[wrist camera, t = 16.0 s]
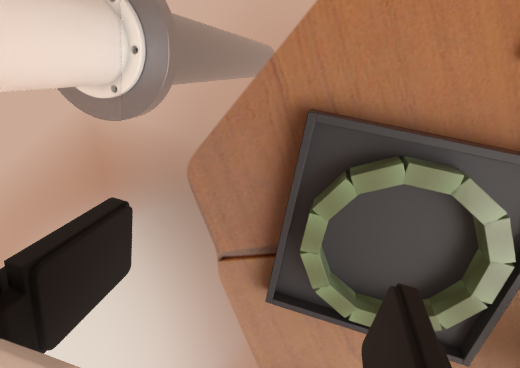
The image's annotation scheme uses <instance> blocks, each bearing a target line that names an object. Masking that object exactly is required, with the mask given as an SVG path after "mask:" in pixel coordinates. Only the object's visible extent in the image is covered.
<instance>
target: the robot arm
mask: <svg viewBox="0 0 520 368" xmlns="http://www.w3.org/2000/svg"><path fill="white" fill-rule="evenodd" d="M145 51H146V47H145V38H144V33H143V29H142V26H141V23H140V21H139V18H138V16H137V14H136V12H135V10H134V9H133V7H132V5H131V4H130V3H129V1H128V0H0V92H8V91H22V90H36V89H37V90H38V89H52V88H67V87H76V88H77V89H78V90H80V91H82V92H83V93H85V94H87V95H90V96H93V97H96V98H113V97H117V96H121V95H122V94H124V93H126V92H128V91H129V90H130V89H131V88H132V87H133V86H134V85H135V84H136V82H137V81H138V79H139V77H140V75H141V73H142V71H143V67H144V62H145ZM131 248H132V208H131V207H129V203H128V202H127V201H123V200H120V199H116V198H109V199H108V200H106V201H104V202H103V203H101V204H99V205H98V206H96V207H94V208H92V209H91V210H89V211H88V212H86V213H84V214H82V215H81V216H79V217H77V218H76V219H74V220H72V221H71V222H69V223H67V224H66V225H64V226H62V227H61V228H59V229H57V230H56V231H54V232H52V233H51V234H49V235H47V236H45V237H44V238H42V239H40V240H39V241H37V242H35V243H34V244H32V245H30V246H29V247H27V248H25V249H23V250H22V251H20V252H19V253H17V254H15V255H13V256H12V257H10V258H8V259H7V260H5V261H4V263H5V266H4V267H3V268H1V269H0V368H79V367H77V366H74V365H71V364H69V363H66V362H64V361H61V360H58V359H56V358H53V357H50V356H48V355H45V354H44V353H45V352H46V351H47V350H52V349H53V348H55V347H56V346H57V345H58V344H59V343H60V342H61V341H62V340H63V339H64V338H65V336H67V335H68V334H69V333H70V332H71V331H72V330H73V329H74V327H76V326H77V325H78V323H79V322H80V321H81V320H82V319H83V318H84V317H85V316H86V315H87V314H88V313H89V312H90V311H91V310H92V309H93V308H94V307H95V306H96V305H97V304H98V303H99V302H100V301H101V300H102V299H103V298H104V297H105V296H106V295H107V294H108V293H109V292H110V291H111V290H112V289H113V288H114V287H115V286H116V285H117V284H118V283H119V282H120V281H121V280H122V279H123V278H124V277H125V276H126V275H127V273H128V272H129V270H130V267H131ZM362 361H363V368H452V367H451V365H450V362H449V360H448V357H447V355H446V352H445V350H444V347H443V345H442V343H441V342H440V341H439V340H438V339H437V336H436V334H435V331H434V328H433V326H432V323H431V321H430V318H429V316H428V313H427V310H426V308H425V305H424V303H423V300H422V297H421V295H420V292H419V290H418V289H417V288H414V287H410V286H407V285H404V284H400V283H398V284H397V285H396V286H390V288H389V289H388V291H387V293H386V295H385V298H384V300H383V302H382V304H381V306H380V308H379V310H378V312H377V314H376V316H375V318H374V320H373V323H372V325H371V327H370V329H369V331H368V333H367V335H366V337H365V339H364V341H363V345H362Z"/></svg>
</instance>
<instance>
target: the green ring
mask: <svg viewBox="0 0 520 368" xmlns="http://www.w3.org/2000/svg"><path fill="white" fill-rule="evenodd" d="M402 184H406V185H411V186H415V187H419V188H423V189H428V190H432V191H436V192H441V193H445V194H449V195H452V196H453V197H454V198H455V199H456V200H457V201H458V202H459V203H461V204H462V205H463V206H464V207H465V208H466V209H467V210H468V211H469V212H470V213H471V214H472V215H473V219H474V225H475V231H476V236H477V242H478V250H477V252H476V254H475V255H474V257H473V259H472V261H471V263H470V265H469V266H468V268H467V270H466V272H465V274H464V276H463V277H462V279H461V280H460V281H458V282H456V283H455V284H453V285H451V286H450V287H448V288H446V289H444V290H443V291H441V292H439V293H438V294H436V295H434V296H433V297H431V298H429V299H422V300H423V303H424V305H425V308H426V310H427V313H428V316H429V318H430V321H431V323H432V326H433V328H434V331H441V330H442V329H441V325H442V326H444V327H445V328H446V329H448V328H450V327H452V326H454V325H456V324H458V323H459V322H461V321H463V320H465V319H467V318H469V317H471V316H473V315H475V314H477V313H479V312H480V311H482V310H484V309H486V308H488V307H487V305H486V304H485V303H488V304H492V303H493V301H494V300H495V298H496V297H497V295H498V293H499V292H500V290H501V288H502V287H503V285H504V284H505V282H506V280H507V279H508V277H509V276H510V274H511V272H512V271H513V269H514V268H515V266H514V265H513V264H512V263H513V262H516V258H515V251H514V244H513V236H512V229H511V222H510V218H509V217H508V216H507V215H506V214H507V212H506V211H505V210H504V209H503V208H502V207H501V206H500V205H498V204H497V203H496V202H495V201H494V200H493V199H492V198H491V197H490V196H489V195H488V194H487V193H486V192H485V191H484V190H482V189H481V188H480V187H479V186H478V185H477V184H476V183H475V182H474V181H473V180H472V179H471V178H470V177H468V176H467V175H466V174H465V173H464V172H462V171H461V170H460V169H456V168H455V167H454V166H450V165H446V164H441V163H436V162H432V161H427V160H423V159H418V158H414V157H409V156H403V158H402V160H400V158H399V157H398V156H394V157H390V158H386V159H382V160H379V161H375V162H371V163H367V164H363V165H359V166H355V167H352V168H350V174H349V173H348V172H347V171H344V172H343V173H342V174H341V175H340V176H338V177H337V178H336V179H335V180H334V181H333V182H332V183H331V184H330V185H329V186H328V187H327V188H325V189H324V190H323V191H322V192H321V193H320V194H319V195H318V196H317V197H316V198H315V199H314V202H313V203H311V207H310V211H309V215H308V218H307V222H306V226H305V230H304V234H303V238H302V242H301V247H300V250H301V252H300V255H301V258H302V261H303V264H304V266H305V269H306V272H307V275H308V278H309V280H310V283H311V286H312V289H314V288H315V292H316V293H317V294H318V295H319V296H320V297H321V298H322V299H324V300H325V301H326V302H327V303H328V304H329V305H330V306H332V307H333V308H334V309H335V310H336V311H337V312H339V313H340V314H341V315H342V316H343V317H344V318H346V317H347V316H349V321H353V322H356V323H359V324H362V325H365V326H369V327H371V325H372V323H373V320H374V318H375V316H376V314H377V312H378V310H379V308H380V306H381V304H382V302H383V300H379V299H376V298H373V297H369V296H366V295H362V294H359V293H356V292H354V291H353V290H352V289H351V288H349V287H348V286H347V285H346V284H345V283H344V282H343V281H341V280H340V279H339V278H338V277H337V276H336V275H335V274H334V273H332V272H331V271H330V269H329V266H328V263H327V260H326V257H325V254H324V251H323V248H322V245H321V244H322V241H323V237H324V234H325V231H326V227H327V224H328V220H329V219H331V218H332V217H333V216H334V215H335V214H336V213H338V212H339V211H340V210H341V209H342V208H343V207H345V206H346V205H347V204H348V203H349V202H350V201H352V200H353V199H354V198H355V197H356V196H357V195H359V194H362V193H367V192H371V191H375V190H380V189H384V188H389V187H393V186H397V185H402ZM440 324H441V325H440Z"/></svg>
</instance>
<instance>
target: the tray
mask: <svg viewBox="0 0 520 368" xmlns="http://www.w3.org/2000/svg"><path fill="white" fill-rule="evenodd" d="M394 156H398V157H399V158H400V160H402V158H403V156H409V157H414V158H418V159H423V160H427V161H432V162H436V163H441V164H446V165H450V166H454V167H455V168H456V169H460V170H461V171H462V172H464V173H465V174H466V175H467V176H468V177H470V178H471V179H472V180H473V181H474V182H475V183H476V184H477V185H478V186H479V187H480V188H481V189H482V190H484V191H485V192H486V193H487V194H488V195H489V196H490V197H491V198H492V199H493V200H494V201H495V202H496V203H497V204H498V205H500V206H501V207H502V208H503V209H504V210H505V211H506V212H507V214H506V215H507V216H508V217H509V218H510V222H511V229H512V236H513V244H514V251H515V258H516V262H513V263H512V264H513V265H514V266H515V268H514V269H513V271H512V272H511V274H510V276H509V277H508V279H507V280H506V282H505V284H504V285H503V287H502V288H501V290H500V292H499V293H498V295H497V297H496V298H495V300H494V301H493V303H492V304H488V303H485V304H486V305H487V307H488V308H486V309H484V310H482V311H480V312H479V313H477V314H475V315H473V316H471V317H469V318H467V319H465V320H463V321H461V322H459V323H458V324H456V325H454V326H452V327H450V328H448V329H446V328H445V327H444V326H442V325H441V324H440V325H441V329H442V330H441V331H435V334H436V336H437V339H438V340H439V341H440V342H441V343H442V345H443V347H444V350H445V352H446V355H447V357H448V360H449V361H453V362H456V363H459V364H462V365H465V366H469V365H470V363H471V362H472V360H473V359H474V357H475V356H476V354H477V353H478V351H479V350H480V348H481V347H482V345H483V344H484V342H485V341H486V339H487V338H488V336H489V334H490V333H491V331H492V330H493V328H494V327H495V325H496V324H497V322H498V321H499V319H500V318H501V316H502V315H503V313H504V312H505V310H506V309H507V307H508V305H509V304H510V302H511V301H512V299H513V298H514V296H515V295H516V293H517V292H518V290H519V289H520V152H518V151H513V150H508V149H503V148H498V147H493V146H489V145H484V144H479V143H474V142H469V141H464V140H459V139H455V138H450V137H445V136H440V135H435V134H430V133H425V132H421V131H416V130H411V129H406V128H401V127H396V126H392V125H387V124H382V123H377V122H372V121H367V120H362V119H358V118H353V117H348V116H343V115H338V114H333V113H329V112H324V111H319V110H314V109H310V111H309V112H308V117H307V121H306V125H305V130H304V134H303V139H302V143H301V147H300V152H299V156H298V160H297V165H296V169H295V174H294V178H293V182H292V187H291V191H290V196H289V200H288V204H287V209H286V213H285V217H284V222H283V226H282V231H281V235H280V239H279V244H278V248H277V253H276V257H275V261H274V266H273V270H272V274H271V279H270V283H269V288H268V292H267V296H266V302H267V303H272V304H274V305H277V306H280V307H283V308H286V309H289V310H292V311H296V312H299V313H302V314H305V315H308V316H311V317H314V318H318V319H321V320H324V321H327V322H330V323H333V324H336V325H340V326H343V327H346V328H349V329H352V330H355V331H358V332H362V333H365V334H367V333H368V331H369V329H370V327H369V326H365V325H362V324H359V323H356V322H353V321H349V316H347V317H346V318H344V317H343V316H342V315H341V314H340V313H339V312H337V311H336V310H335V309H334V308H333V307H332V306H330V305H329V304H328V303H327V302H326V301H325V300H324V299H322V298H321V297H320V296H319V295H318V294H317V293H316V292H315V288H314V289H312V286H311V283H310V280H309V278H308V275H307V272H306V269H305V266H304V264H303V261H302V258H301V255H300V252H301V250H300V247H301V242H302V238H303V234H304V230H305V226H306V222H307V218H308V215H309V211H310V207H311V203H313V202H314V199H315V198H316V197H317V196H318V195H319V194H320V193H321V192H322V191H323V190H324V189H325V188H327V187H328V186H329V185H330V184H331V183H332V182H333V181H334V180H335V179H336V178H337V177H338V176H340V175H341V174H342V173H343V172H344V171H347V172H348V173H349V174H350V168H352V167H355V166H359V165H363V164H367V163H371V162H375V161H379V160H382V159H386V158H390V157H394ZM321 245H322V248H323V251H324V254H325V257H326V260H327V263H328V266H329V269H330V271H331V272H332V273H334V274H335V275H336V276H337V277H338V278H339V279H340V280H341V281H343V282H344V283H345V284H346V285H347V286H348V287H349V288H351V289H352V290H353V291H354V292H356V293H359V294H362V295H366V296H369V297H373V298H376V299H379V300H384V298H385V295H386V293H387V291H388V289H389V288H390V286H396V285H397V284H398V283H400V284H404V285H407V286H410V287H414V288H417V289H418V290H419V292H420V295H421V297H422V299H429V298H431V297H433V296H434V295H436V294H438V293H439V292H441V291H443V290H444V289H446V288H448V287H450V286H451V285H453V284H455V283H456V282H458V281H460V280H461V279H462V277H463V276H464V274H465V272H466V270H467V268H468V266H469V265H470V263H471V261H472V259H473V257H474V255H475V254H476V252H477V250H478V242H477V236H476V231H475V225H474V219H473V215H472V214H471V213H470V212H469V211H468V210H467V209H466V208H465V207H464V206H463V205H462V204H461V203H459V202H458V201H457V200H456V199H455V198H454V197H453V196H452V195H449V194H445V193H441V192H436V191H432V190H428V189H423V188H419V187H415V186H411V185H406V184H402V185H397V186H393V187H389V188H384V189H380V190H375V191H371V192H367V193H362V194H359V195H357V196H356V197H355V198H354V199H353V200H352V201H350V202H349V203H348V204H347V205H346V206H345V207H343V208H342V209H341V210H340V211H339V212H338V213H336V214H335V215H334V216H333V217H332V218H331V219H329V220H328V224H327V227H326V231H325V234H324V237H323V241H322V244H321Z"/></svg>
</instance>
